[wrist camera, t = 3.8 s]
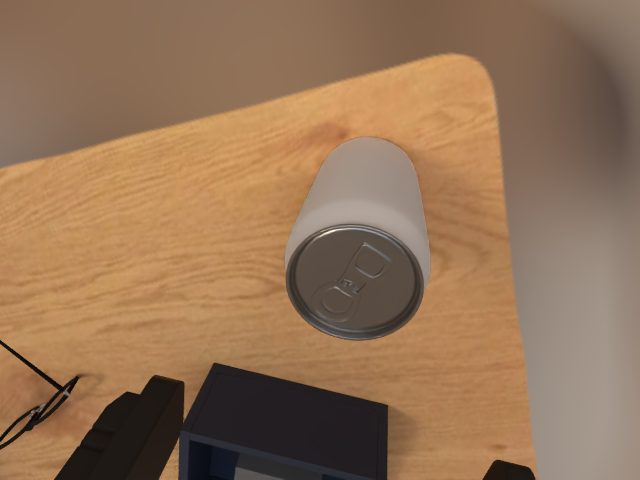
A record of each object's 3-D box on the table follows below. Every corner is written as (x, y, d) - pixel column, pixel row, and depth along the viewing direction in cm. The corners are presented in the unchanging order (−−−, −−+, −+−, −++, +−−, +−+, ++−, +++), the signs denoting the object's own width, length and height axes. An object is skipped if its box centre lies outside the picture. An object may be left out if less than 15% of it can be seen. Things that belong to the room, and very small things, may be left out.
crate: (387, 405, 37) (387, 483, 31) (350, 505, 44) (343, 584, 38) (213, 362, 37) (179, 430, 31) (205, 468, 45) (176, 540, 39)
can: (300, 194, 29) (248, 297, 18) (355, 113, 26) (331, 181, 15) (377, 245, 30) (370, 371, 19) (439, 173, 27) (471, 276, 16)
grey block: (328, 434, 38) (320, 489, 34) (315, 480, 41) (306, 535, 37) (253, 415, 38) (235, 467, 34) (246, 462, 42) (229, 515, 37)
